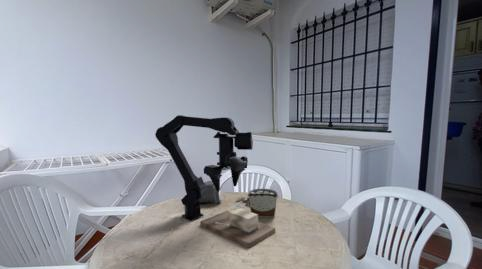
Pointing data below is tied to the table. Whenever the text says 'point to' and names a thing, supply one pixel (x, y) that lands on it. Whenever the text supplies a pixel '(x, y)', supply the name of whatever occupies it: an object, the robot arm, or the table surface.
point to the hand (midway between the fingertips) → (226, 188)
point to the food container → (263, 202)
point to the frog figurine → (243, 202)
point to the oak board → (236, 230)
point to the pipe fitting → (210, 194)
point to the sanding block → (244, 220)
